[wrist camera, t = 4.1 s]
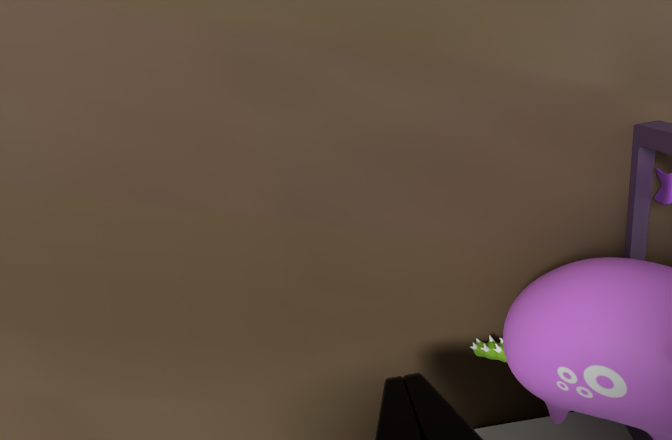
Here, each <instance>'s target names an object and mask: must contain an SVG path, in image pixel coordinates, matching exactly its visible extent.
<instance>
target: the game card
mask: <svg viewBox="0 0 672 440" xmlns="http://www.w3.org/2000/svg"><path fill="white" fill-rule="evenodd" d="M656 150H657V151H660V152H663V153H666V154H669V155H672V123H667V122H663V121H653V122H648V123H642V124H636V125H634V132H633V146H632V159H631V173H630V186H629V200H628V213H627V227H626V240H625V254H624V258H619V257H602V258H591V259H584V260H580V261H576V262H572V263H569V264H566V265H563V266H561V267H558V268H556V269H554V270H552V271H549V272H548V273H546V274H544V275H542V276H541V277H539V278H537V279H536V280H535V281H533V282H532V283H531V284H529V285H528V286H527V287H526V288H525V289H524V290H523V291H522V292H521V293H520V294H519V295H518V296H517V298H516V299H515V300H514V302H513V303H512V305H511V307H510V309H509V311H508V314H507V316H506V319H505V323H504V329H503V339H502V338H499V339H500V340H501V341H500V343H497V342H495V341H494V339H493V338H492V337H491V335H489V338H490V341H489V342H488V343H485V342H482V341H480V340H478V339H477V338H476V340H477V341H476V344H475V343H474V342H473V346H470V347H471V348H472V349H473V350H474V353H475V355H477V356H479V357H486V358H488V359H491V360H500V361H502V362H507V363H508V365H509V367H510V369H511V371H512V373H513V374H514V376H515V377H516V379H517V380H518V381H519V382H520V383H521V384H522V385H523V386H524V387H525V388H526V389H527V390H528V391H530V392H531V393H532V394H534V395H535V396H537V397H539V398H540V399H542V400H543V401H544V402H545V403H546V405H547V408H548V411H549V414H550V417H551V420H552V421H553V422H554V423H555V424H560V423H562V422H563V421H564V420H565V418H566V416H567V414H568V413H569V411H571V410H572V411H575V412H579V413H583V414H587V415H591V416H594V417H599V418H603V419H606V420H610V421H614V422H618V423H621V424H625V426H626V428H627V429H628V431H629V433H630V435H631V437H632V439H633V440H672V267H669V266H666V265H662V264H658V263H653V262H649V261H645V255H646V245H647V235H648V225H649V215H650V205H651V195H652V185H653V175H654V164H655V154H656ZM656 172H657V175H658V178H659V180H660V182H661V188H660V189H659V190H658V192H657V193H656V195H655V197H654V199H655V200H656V201H658V202H659V203H661V204H670V203H672V173H670V174H667V173H664V172H663V171H661V170H660V169H659V168H656Z"/></svg>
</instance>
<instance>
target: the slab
mask: <svg viewBox="0 0 672 440" xmlns="http://www.w3.org/2000/svg"><path fill="white" fill-rule="evenodd" d="M475 431H476V432H477V433H478V435H479V436H480V437H481V438H482V439H483V440H633V439H632V437H631V435H630V433H629V431H628V429H627V428H626V426H625V424H621V423H618V422H614V421H610V420H606V419H603V418H599V417H594V416H591V415H587V414H583V413H579V412H572V413H568V414H567V416H566V418H565V420H564V421H563V422H562V423H560V424H555V423H554V422H553V421H552V420H551V417H550V416H548V417H542V418H536V419H531V420H525V421H519V422H513V423H507V424H501V425H495V426H489V427H484V428H478V429H475Z"/></svg>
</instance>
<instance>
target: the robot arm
mask: <svg viewBox="0 0 672 440" xmlns="http://www.w3.org/2000/svg"><path fill="white" fill-rule="evenodd" d="M375 440H483V439H482V438H481V437H480V436H479V435H478V433H477V432H476V431H475V430H474V429H473V428H472V427H471V426H470V425H469V424H468V423H467V422H466V421H465V420H464V419H463V418H462V417H461V416H460V414H459V413H458V412H457V411H456V410H455V409H454V408H453V407H452V406H451V405H450V404H449V403H448V402H447V401H446V400H445V399H444V398H443V397H442V396H441V394H440V393H439V392H438V391H437V390H436V389H435V388H434V387H433V386H432V385H431V384H430V383H429V382H428V381H427V380H426V379H425V378H424V377H423V376H422V375H421V374H420V373H414V374H409V375H405V376H404V377H403V378H402V377H401V376H398V377H392V378H387V379H386V380H385V384H384V390H383V396H382V402H381V408H380V414H379V420H378V426H377V432H376V438H375Z"/></svg>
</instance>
